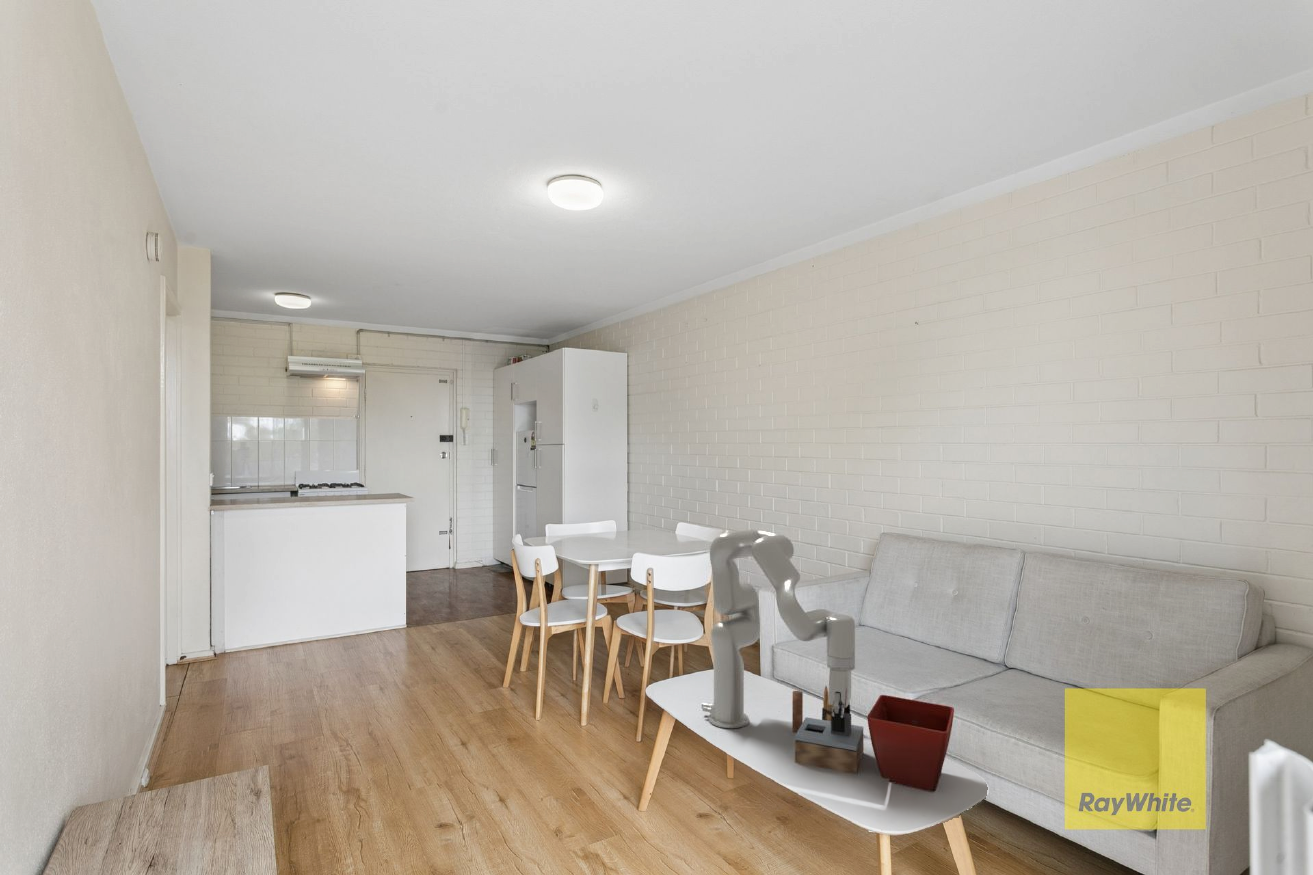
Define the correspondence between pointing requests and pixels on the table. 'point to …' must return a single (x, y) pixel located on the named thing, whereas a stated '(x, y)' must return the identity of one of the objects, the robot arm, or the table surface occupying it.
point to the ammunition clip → (826, 707)
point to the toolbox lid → (830, 733)
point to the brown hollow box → (828, 755)
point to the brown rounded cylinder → (797, 710)
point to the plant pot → (910, 740)
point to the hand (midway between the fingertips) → (841, 725)
